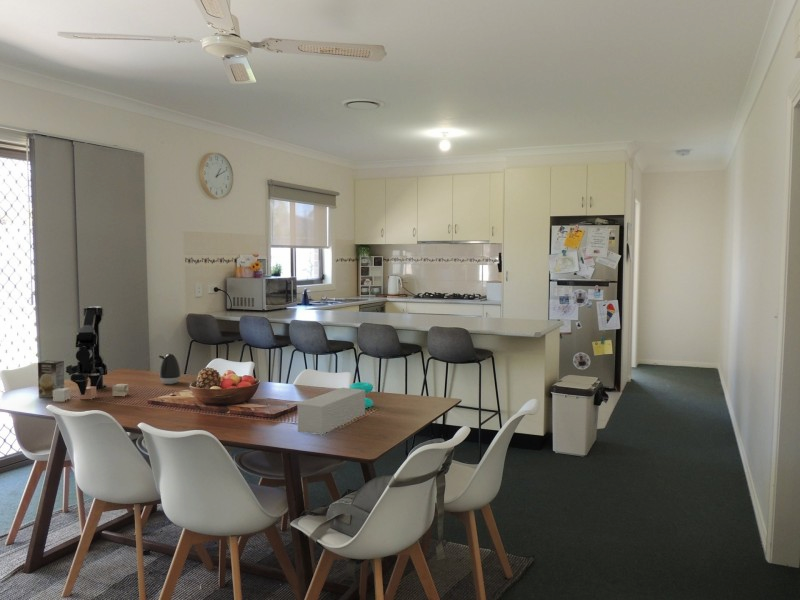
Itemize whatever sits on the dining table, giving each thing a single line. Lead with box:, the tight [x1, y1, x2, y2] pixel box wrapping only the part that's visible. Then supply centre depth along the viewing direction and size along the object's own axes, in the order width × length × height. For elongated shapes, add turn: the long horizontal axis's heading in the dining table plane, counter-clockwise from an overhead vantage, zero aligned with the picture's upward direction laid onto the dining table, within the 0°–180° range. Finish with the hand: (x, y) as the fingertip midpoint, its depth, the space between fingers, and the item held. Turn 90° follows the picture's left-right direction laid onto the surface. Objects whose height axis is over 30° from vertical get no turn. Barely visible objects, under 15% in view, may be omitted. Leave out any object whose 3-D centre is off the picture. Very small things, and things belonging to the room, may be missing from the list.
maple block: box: [112, 383, 129, 397], centre depth 293 cm, size 5×5×5 cm
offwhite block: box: [52, 387, 71, 402], centre depth 283 cm, size 5×5×5 cm
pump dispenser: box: [158, 353, 182, 385], centre depth 321 cm, size 10×10×15 cm
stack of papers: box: [296, 387, 366, 435], centre depth 245 cm, size 32×11×11 cm, turn 154°
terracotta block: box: [79, 385, 98, 400], centre depth 287 cm, size 5×5×5 cm
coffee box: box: [37, 359, 65, 398], centre depth 291 cm, size 9×6×16 cm
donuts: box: [349, 381, 374, 408], centre depth 272 cm, size 10×10×10 cm
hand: (88, 392), depth 287 cm, fingers open, 9 cm apart
